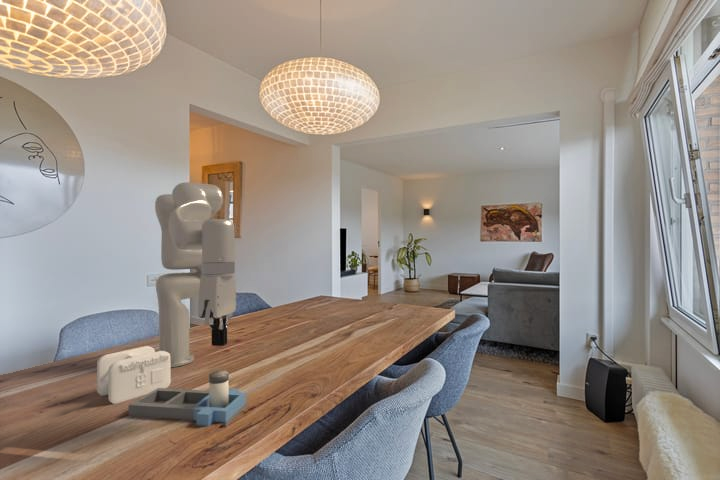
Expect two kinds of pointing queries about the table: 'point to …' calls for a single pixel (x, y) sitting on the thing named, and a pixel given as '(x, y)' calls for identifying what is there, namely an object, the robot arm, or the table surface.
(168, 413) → the three compartment tray
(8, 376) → the table surface
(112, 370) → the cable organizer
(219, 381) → the cream capped cylinder
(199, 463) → the table surface
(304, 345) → the table surface
